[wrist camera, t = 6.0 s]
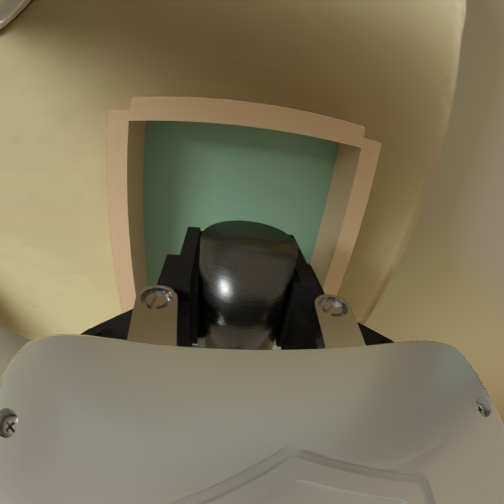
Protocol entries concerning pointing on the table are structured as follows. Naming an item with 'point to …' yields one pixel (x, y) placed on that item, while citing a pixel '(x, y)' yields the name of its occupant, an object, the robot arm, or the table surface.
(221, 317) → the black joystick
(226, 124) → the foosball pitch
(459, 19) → the table surface
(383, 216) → the table surface
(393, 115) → the table surface
